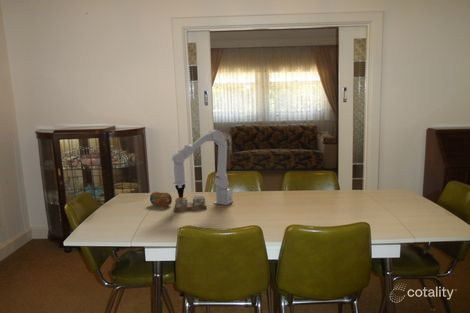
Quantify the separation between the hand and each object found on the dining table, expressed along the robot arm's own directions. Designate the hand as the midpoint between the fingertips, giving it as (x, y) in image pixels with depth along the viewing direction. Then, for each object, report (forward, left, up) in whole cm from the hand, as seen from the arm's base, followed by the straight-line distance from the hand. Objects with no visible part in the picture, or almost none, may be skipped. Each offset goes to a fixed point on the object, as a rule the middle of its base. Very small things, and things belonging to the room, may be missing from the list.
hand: (181, 197), depth 206 cm
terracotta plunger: (0, 0, -4) cm, 4 cm away
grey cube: (-8, -6, -5) cm, 11 cm away
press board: (-4, -3, -7) cm, 8 cm away
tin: (+16, -1, -7) cm, 17 cm away
